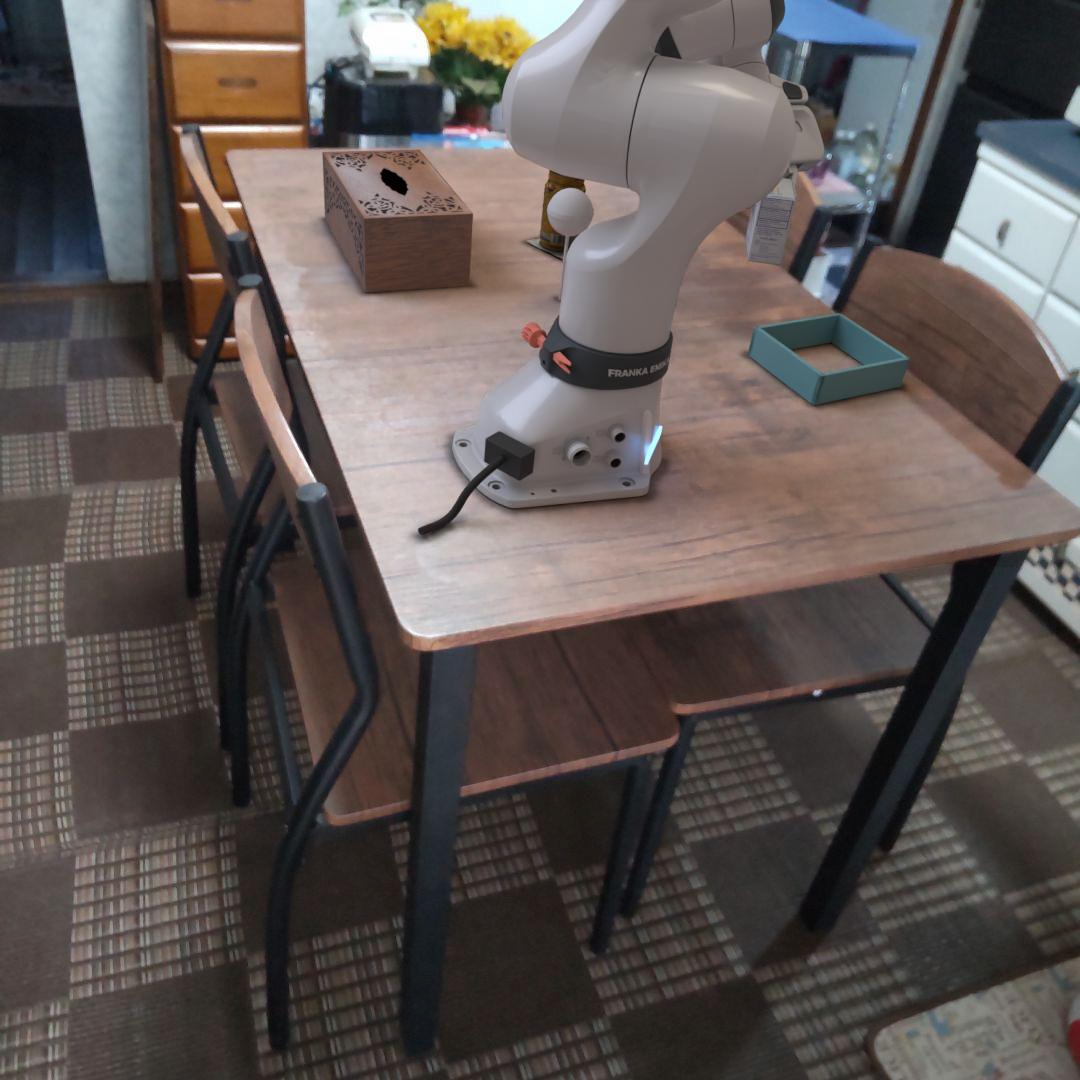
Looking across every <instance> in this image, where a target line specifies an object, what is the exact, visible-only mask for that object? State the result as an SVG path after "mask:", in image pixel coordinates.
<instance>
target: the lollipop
mask: <svg viewBox="0 0 1080 1080" xmlns="http://www.w3.org/2000/svg"><path fill="white" fill-rule="evenodd" d="M594 212H595V209H594V207H593V203H592V201H591V199H590V197H589V196H588V195H587V194H586V192H585V193H584V192H582V191H580V190H578V189H575V188H566V189H563V190H561V191H559V192H557V193H556V194H555V195H554V196H553V197H552V199H551V200H550V202H549V204H548V208H547V214H548V219H549V222H550V224H551V226H552V227H553V228H554V229H555V230H556V231H557V232H558V233H560V234H562V235H565V236H566V239H565V247H564V256H563V259H562V266H561V273H560V274H561V275H560V283H559V291H558V292H559V293H558V301H561V297H562V289H563V280H564V271H565V263H566V256H567V252H568V243H569V236H575V235H578V234H581V233H582V232H583V231H584V230H586V229H588V228H589V227H590V225H591V224H592V221H593V218H594V215H595V213H594Z"/></svg>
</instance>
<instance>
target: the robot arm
mask: <svg viewBox="0 0 1080 1080" xmlns="http://www.w3.org/2000/svg"><path fill="white" fill-rule="evenodd" d="M785 14H786V2H785V0H583V1H581V3H580V4H579V6H578V7H577V8H576V9H575V10H574V12H573V13H572V14H570V16H569V17H568V18H567V19H566V20H565V21H563V23H562V24H561V25H560V26H559V27H558V28H556V29H555V30H554V31H552V32H551V33H550V34H548V35H546V37H544V38H542V39H541V40H539V41H536V42H535V43H533V44H532V45H531V46H529V47H528V48H526V49H525V51H523V53H522V54H521V55H520V56H519V57H518V58H517V60H516V61H515V63H514V64H513V65H512V67H511V69H510V71H509V72H508V75H507V77H506V81H505V83H504V86H503V90H502V95H501V118H502V125H503V130H504V132H505V136H506V138H507V140H508V142H509V144H510V146H511V148H512V149H513V151H514V153H515V154H516V155H517V156H519V157H520V158H523V159H525V160H526V161H529V162H531V163H533V164H535V165H537V166H540V167H542V168H544V169H546V170H548V171H549V170H551V171H554V172H556V173H558V174H561V175H564V176H569V177H574V178H578V179H583V180H585V181H589V182H594V183H599V184H603V185H608V186H613V187H616V188H617V187H618V188H622V189H627V190H630V191H631V192H634V193H636V194H637V195H638V206H637V210H635V211H633V212H630V213H629V214H625V215H622V216H618V217H614V218H610V219H607V220H604V221H601V222H598V223H596V224H594V225H591V226H588V228H587V229H586V230H584V231H583V232H582V233H580V234H579V235H578V236H577V237H576V239H575V240H574V241H573V243H572V244H571V246H570V248H569V250H568V253H567V256H566V263H565V271H564V280H563V289H562V297H561V300H560V305H559V314H558V315H557V316H556V318H555V320H554V321H553V323H552V325H551V327H550V328H549V331H548V333H547V332H546V331H545V330H544V329H542V328H541V327H540V325H539V324H538V323H537V322H535V321H530V322H528V323H526V324H525V325H524V327H522V331H521V338H522V339H523V340H524V341H525V342H527V343H528V345H529V346H530V347H531V348H533V349H538V348H540V349H539V352H538V355H537V356H535V357H534V358H532V359H531V360H530V361H529V362H527V363H526V364H524V365H523V366H522V367H520V368H519V369H518V370H517V371H515V372H514V373H513V374H511V375H510V376H509V377H507V378H506V379H504V380H503V381H502V382H500V383H499V384H498V385H496V386H495V387H494V388H492V389H490V390H489V391H488V392H487V393H486V394H485V396H484V397H483V398H482V401H481V403H480V405H479V406H480V407H479V409H478V412H477V417H476V420H475V423H474V424H471V425H470V424H469V425H468V426H464V427H462V428H459V429H457V430H456V431H455V432H454V435H453V438H452V440H453V441H452V444H451V445H452V447H451V450H452V454H453V457H454V460H455V462H456V464H457V466H458V467H459V469H460V470H461V472H462V473H463V475H464V476H465V477H466V479H468V481H469V482H468V483H467V485H466V486H465V487H464V488H463V490H462V491H461V492H460V494H459V496H458V498H457V499H456V501H455V503H454V504H453V506H452V507H451V509H450V510H449V511H448V512H447V513H446V514H445V515H443V516H442V517H441V518H440V519H438V520H435V521H432V522H430V523H428V524H425V525H423V526H420V527H418V528H417V533H418V534H419V536H423V537H424V536H425V535H427V534H430V533H432V532H435V531H438V530H440V529H442V528H445V527H446V526H447V525H449V524H450V523H451V522H452V521H454V520H455V519H456V518H457V517H458V515H459V514H460V512H461V511H462V509H463V508H464V506H465V504H466V503H467V501H468V500H469V498H470V496H471V494H473V493H474V491H475V490H476V489H477V490H478V491H479V492H480V493H482V494H483V495H484V496H486V497H487V498H488V499H490V500H492V501H494V502H495V503H497V504H499V505H501V506H503V507H506V508H509V509H522V508H533V507H542V506H553V505H562V504H563V505H564V504H575V503H585V502H595V501H603V500H604V501H605V500H615V499H624V498H625V499H626V498H635V497H643V496H645V495H647V494H648V493H649V490H650V483H651V477H652V476H653V474H654V473H655V472H656V471H657V470H658V468H659V466H660V465H661V462H662V460H663V450H662V444H661V435H662V431H663V426H662V425H660V414H661V413H660V410H661V395H662V386H663V378H664V377H665V376H666V374H667V373H668V370H669V365H670V359H671V355H672V347H673V342H674V335H673V332H672V325H673V319H674V315H675V311H676V306H677V303H678V298H679V294H680V291H681V289H682V288H681V287H682V284H683V281H684V278H685V274H686V272H687V269H688V266H689V265H690V262H691V260H692V259H693V256H694V255H695V253H696V252H697V250H698V248H699V247H700V246H701V244H702V243H704V241H705V240H706V238H707V237H708V236H709V235H710V234H711V233H712V232H713V231H714V230H715V229H716V228H718V227H719V226H720V225H721V224H722V223H724V222H725V221H727V220H728V219H730V218H731V217H733V216H734V215H736V214H737V213H740V212H742V211H744V210H747V209H748V210H749V209H752V206H753V205H755V204H756V203H758V202H759V201H761V200H762V199H764V198H765V197H766V196H767V195H768V194H769V193H771V192H772V191H773V190H774V188H775V187H776V186H777V185H778V184H779V182H780V181H781V180H782V178H785V179H791V180H792V183H793V188H794V193H795V198H796V201H797V200H798V194H797V190H796V184H797V181H798V176H799V173H802V172H808V171H810V170H811V169H813V168H815V167H816V166H817V165H818V164H819V163H820V162H822V161H823V158H824V155H825V146H824V142H823V138H822V134H821V132H820V128H819V124H818V122H817V119H816V117H815V114H814V113H813V111H812V110H811V109H810V108H809V106H806V105H805V104H806V103H807V102H808V100H809V94H808V90H807V89H806V87H805V86H804V85H803V84H802V85H801V84H798V83H796V82H793V81H789V80H786V79H785V78H782V77H780V76H778V75H776V74H774V73H771V72H770V70H769V67H768V65H767V62H766V61H765V59H764V57H763V54H762V49H763V47H764V46H765V45H768V44H769V42H770V41H771V40H772V38H773V37H774V35H775V34H776V32H777V30H778V29H779V27H780V26H781V24H782V22H783V20H784V18H785Z"/></svg>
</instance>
